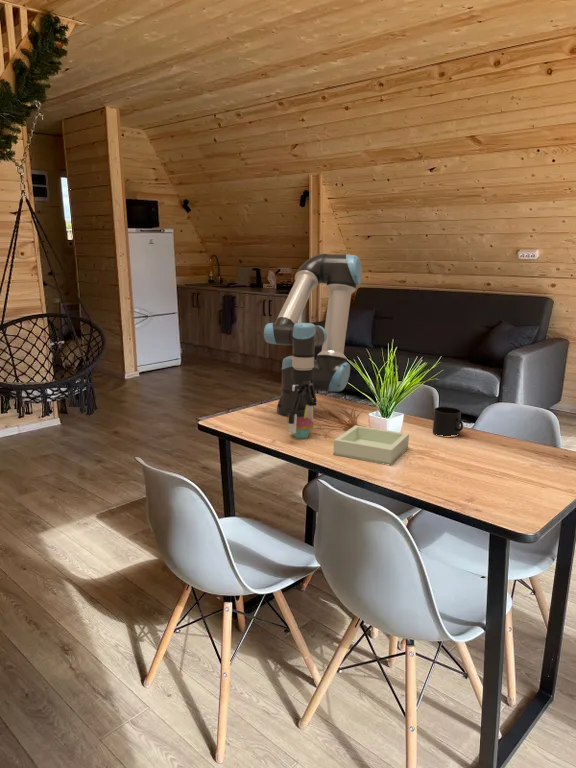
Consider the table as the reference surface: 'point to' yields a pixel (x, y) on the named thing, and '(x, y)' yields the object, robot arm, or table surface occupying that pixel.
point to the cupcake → (303, 426)
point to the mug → (447, 421)
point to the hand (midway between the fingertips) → (300, 427)
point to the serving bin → (371, 444)
